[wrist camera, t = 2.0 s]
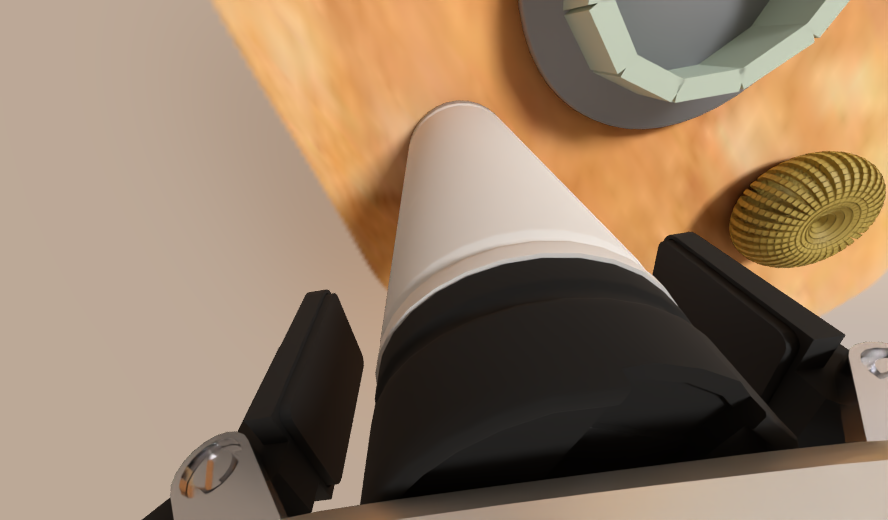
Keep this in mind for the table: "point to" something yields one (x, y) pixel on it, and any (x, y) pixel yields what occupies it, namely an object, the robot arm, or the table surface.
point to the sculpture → (807, 209)
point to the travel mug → (532, 335)
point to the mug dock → (664, 52)
